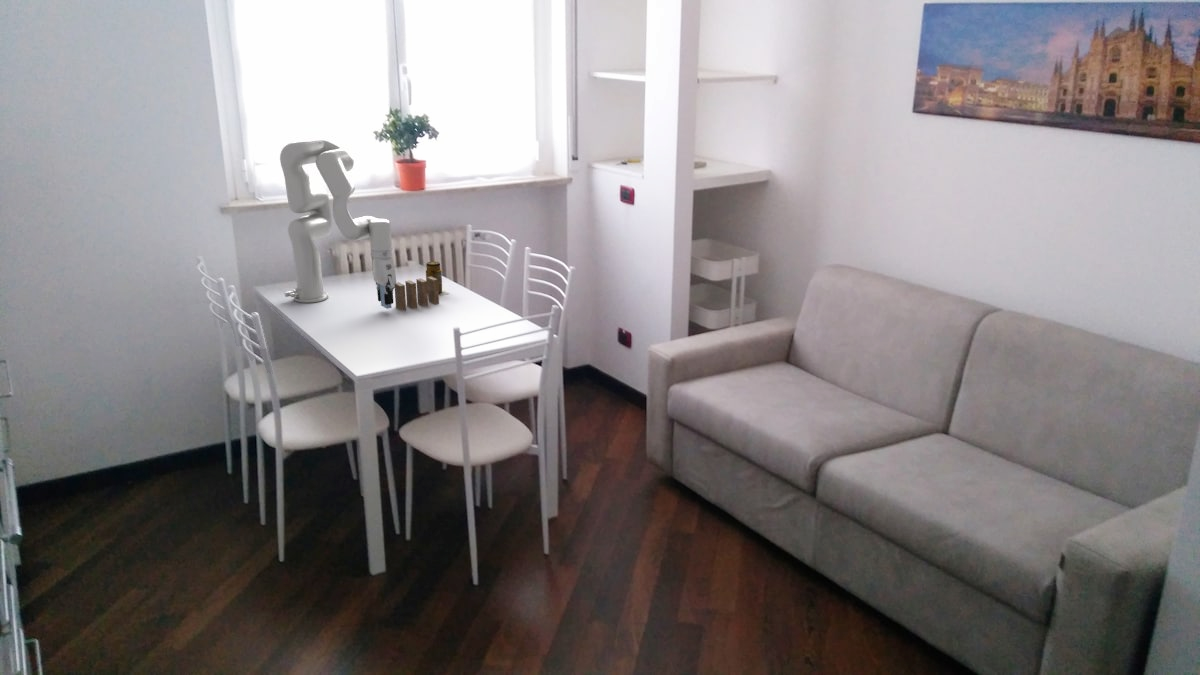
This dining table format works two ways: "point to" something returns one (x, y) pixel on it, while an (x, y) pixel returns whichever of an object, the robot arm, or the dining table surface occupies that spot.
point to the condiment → (435, 275)
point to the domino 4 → (422, 292)
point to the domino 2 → (400, 296)
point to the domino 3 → (411, 294)
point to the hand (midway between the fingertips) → (385, 301)
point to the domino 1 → (383, 297)
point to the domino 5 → (433, 290)
